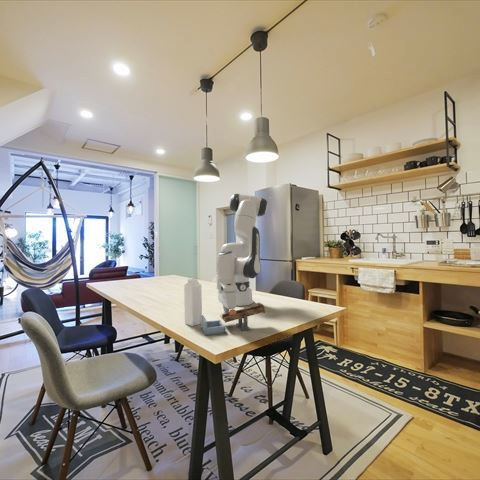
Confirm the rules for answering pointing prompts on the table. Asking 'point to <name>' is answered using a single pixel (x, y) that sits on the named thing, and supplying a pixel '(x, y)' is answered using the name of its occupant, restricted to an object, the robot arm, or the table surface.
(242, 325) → the pivot stand
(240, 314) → the lever
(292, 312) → the table surface
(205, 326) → the light blue open box
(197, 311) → the milk
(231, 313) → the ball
